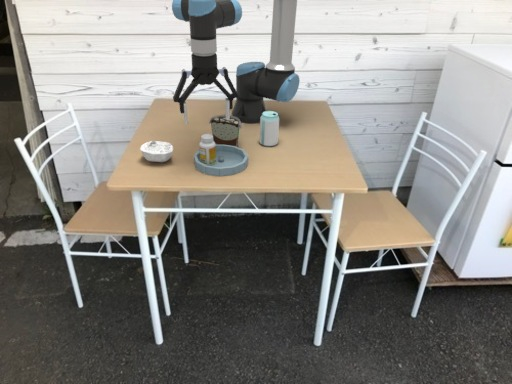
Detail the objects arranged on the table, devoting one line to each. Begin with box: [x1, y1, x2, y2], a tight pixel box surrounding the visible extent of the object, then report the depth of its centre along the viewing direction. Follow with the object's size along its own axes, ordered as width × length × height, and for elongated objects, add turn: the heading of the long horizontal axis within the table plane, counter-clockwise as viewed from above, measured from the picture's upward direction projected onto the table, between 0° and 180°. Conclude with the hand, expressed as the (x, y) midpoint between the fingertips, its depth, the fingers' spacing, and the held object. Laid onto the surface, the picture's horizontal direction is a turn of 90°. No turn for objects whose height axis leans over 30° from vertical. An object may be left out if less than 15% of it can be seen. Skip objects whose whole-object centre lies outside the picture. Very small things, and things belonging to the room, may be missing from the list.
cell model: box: [139, 140, 174, 163], centre depth 140 cm, size 10×12×7 cm
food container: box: [209, 114, 242, 147], centre depth 153 cm, size 12×6×10 cm, turn 71°
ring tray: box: [193, 144, 249, 177], centre depth 140 cm, size 18×18×3 cm
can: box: [259, 110, 280, 147], centre depth 153 cm, size 7×7×12 cm
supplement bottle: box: [198, 133, 217, 166], centre depth 137 cm, size 5×5×10 cm
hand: (207, 120), depth 132 cm, fingers open, 13 cm apart
